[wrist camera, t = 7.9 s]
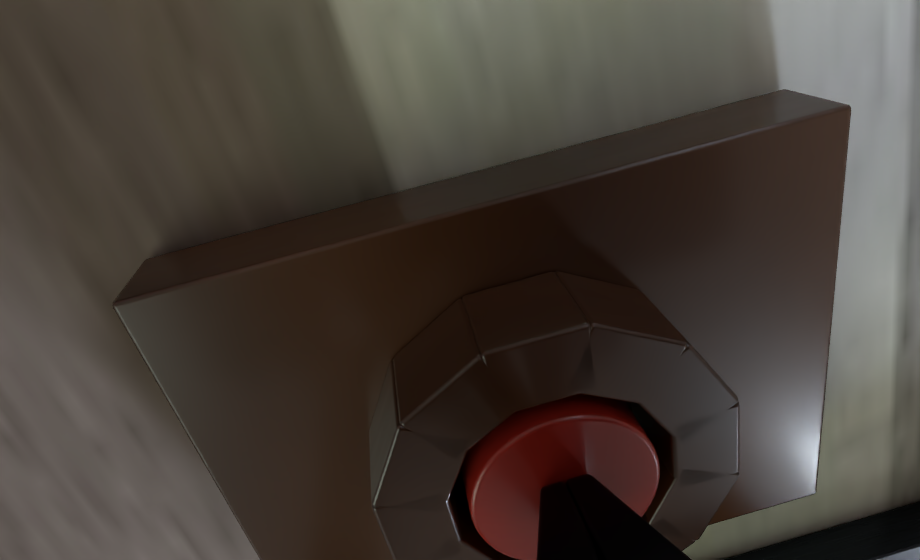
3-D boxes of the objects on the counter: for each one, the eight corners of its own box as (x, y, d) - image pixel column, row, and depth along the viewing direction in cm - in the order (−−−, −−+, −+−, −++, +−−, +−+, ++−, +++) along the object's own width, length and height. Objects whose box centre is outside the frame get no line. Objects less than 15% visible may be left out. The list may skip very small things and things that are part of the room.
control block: (312, 577, 15) (302, 735, 12) (144, 258, 10) (55, 374, 7) (771, 443, 15) (878, 562, 12) (785, 87, 11) (955, 128, 8)
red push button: (473, 506, 12) (491, 584, 10) (435, 381, 10) (449, 451, 9) (627, 462, 12) (667, 533, 10) (611, 332, 10) (655, 393, 9)
